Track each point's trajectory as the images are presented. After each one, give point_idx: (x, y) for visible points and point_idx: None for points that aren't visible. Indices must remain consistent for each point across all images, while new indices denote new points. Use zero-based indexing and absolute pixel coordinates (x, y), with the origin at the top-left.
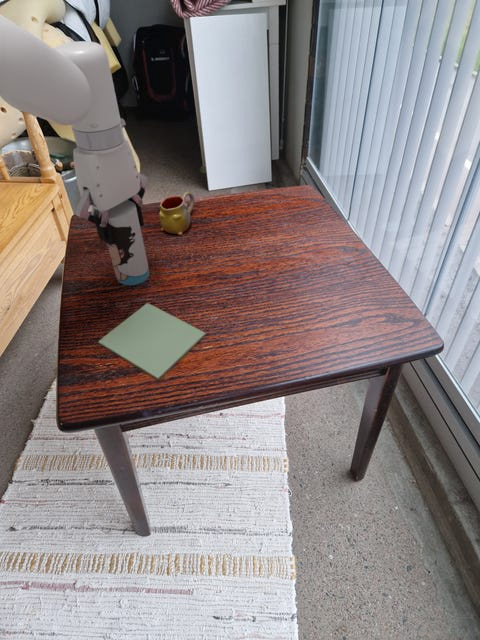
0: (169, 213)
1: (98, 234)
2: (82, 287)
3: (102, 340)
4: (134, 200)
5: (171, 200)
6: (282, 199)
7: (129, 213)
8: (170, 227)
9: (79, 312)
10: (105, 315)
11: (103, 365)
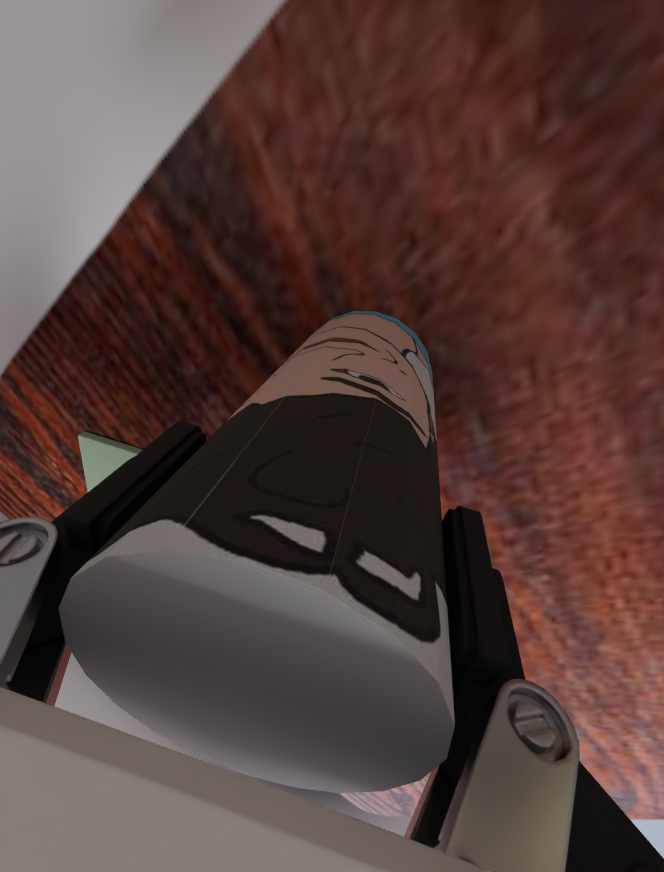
0: None
1: (114, 472)
2: (212, 214)
3: (86, 443)
4: (411, 826)
5: None
6: None
7: (231, 766)
8: None
9: (118, 304)
10: (159, 393)
11: (57, 468)
